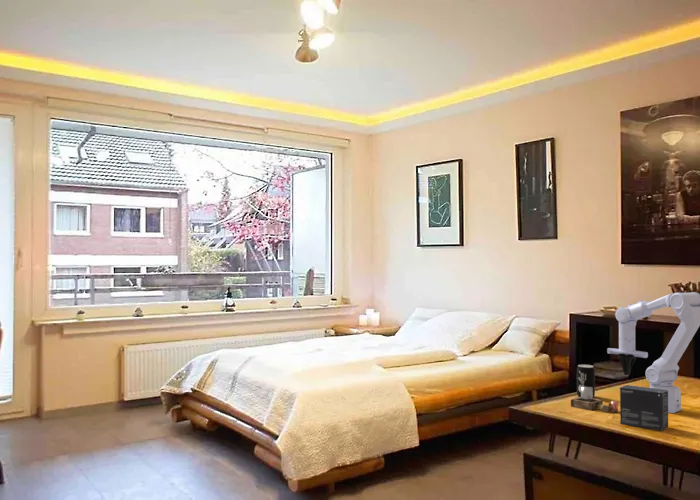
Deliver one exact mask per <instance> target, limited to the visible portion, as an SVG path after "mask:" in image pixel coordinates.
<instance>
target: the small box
mask: <svg viewBox="0 0 700 500" xmlns="http://www.w3.org/2000/svg"><path fill="white" fill-rule="evenodd" d="M619 393H620V394H619V397H620V399H619V400H620V401H619V409H620V411H619V414H620V415H619V416H620V421H619V423H620V425H624V424H625V425H626V426H630V427H636V428H642V429H643V428H644V429H650V430H655V431H662V432H663V431H665V430H666V429H668V428H669V412H668V390H663V389H655V388H650V387H646V386H637V385H629V384H625V385H623V386H620V387H619ZM625 425H624V426H625Z"/></svg>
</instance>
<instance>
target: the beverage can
mask: <svg viewBox="0 0 700 500" xmlns="http://www.w3.org/2000/svg"><path fill="white" fill-rule="evenodd" d="M595 372H596V371H595V368H594V365H591V364H578V365H577V367H576V394H577V396H578V397H581V387H582V386H588V387H592V388H593V398H594V396H595V394H596V392H595V391H596V390H595V389H596V387H595V386H596V385H595V384H596V380H595V379H596V378H595V377H596V373H595Z"/></svg>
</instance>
